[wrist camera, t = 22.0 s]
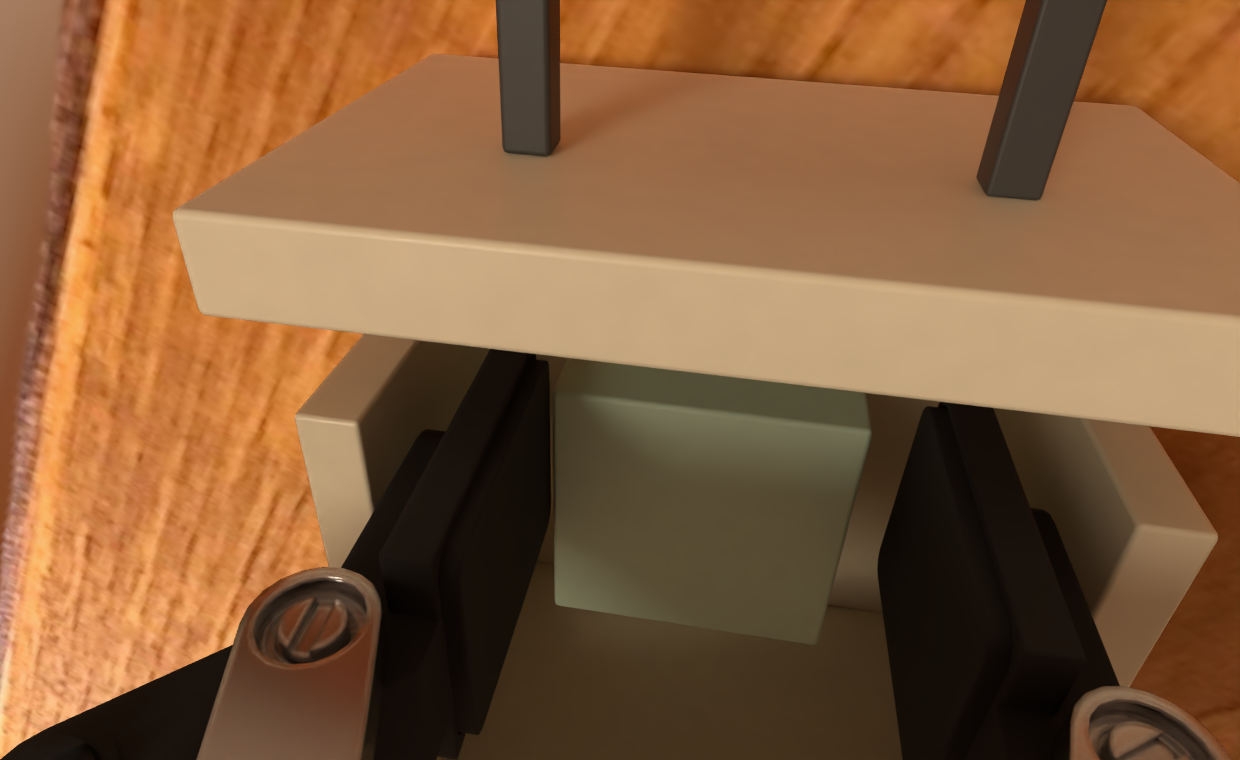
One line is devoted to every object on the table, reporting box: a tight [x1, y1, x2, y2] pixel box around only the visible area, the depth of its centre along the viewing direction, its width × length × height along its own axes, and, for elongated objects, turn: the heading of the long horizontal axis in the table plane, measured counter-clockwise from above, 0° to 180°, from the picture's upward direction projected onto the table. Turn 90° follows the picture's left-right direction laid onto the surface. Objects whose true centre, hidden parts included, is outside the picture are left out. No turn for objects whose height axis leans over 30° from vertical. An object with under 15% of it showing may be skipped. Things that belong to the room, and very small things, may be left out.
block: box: [552, 358, 872, 645], centre depth 14 cm, size 4×4×4 cm
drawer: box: [173, 0, 1240, 760], centre depth 12 cm, size 16×11×7 cm
